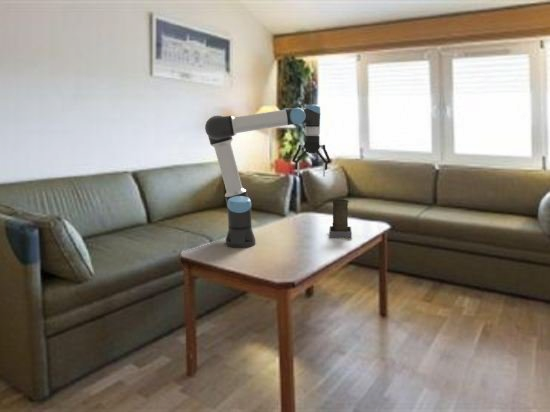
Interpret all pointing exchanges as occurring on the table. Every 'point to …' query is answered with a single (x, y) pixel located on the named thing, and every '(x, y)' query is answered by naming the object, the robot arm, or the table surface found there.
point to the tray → (340, 233)
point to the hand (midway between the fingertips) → (311, 175)
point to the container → (340, 215)
